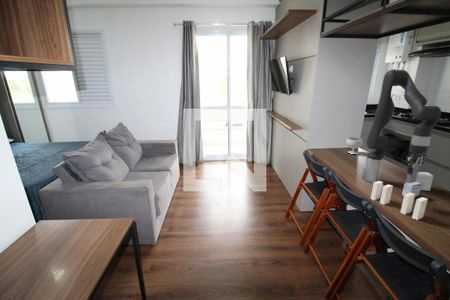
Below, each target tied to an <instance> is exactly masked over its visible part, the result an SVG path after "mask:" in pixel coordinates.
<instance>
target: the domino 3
mask: <svg viewBox="0 0 450 300" xmlns="http://www.w3.org/2000/svg"><path fill="white" fill-rule="evenodd" d="M419 166H420V163H417V164H416V165H415V166H414V169H413V173H412V174H408V173H406V174H407V175H406V179H405V183H407V182H408V183H413V182H416V178H417V174H418V170H419V171H420V168H419ZM420 167H421V166H420Z"/></svg>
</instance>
